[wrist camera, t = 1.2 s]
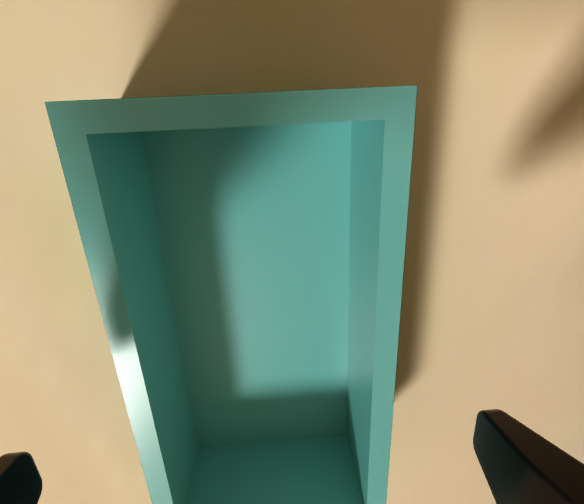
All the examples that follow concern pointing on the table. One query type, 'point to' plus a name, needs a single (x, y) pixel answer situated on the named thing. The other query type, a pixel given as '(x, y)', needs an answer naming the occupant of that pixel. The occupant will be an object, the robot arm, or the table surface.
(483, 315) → the table surface
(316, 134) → the tray
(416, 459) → the table surface
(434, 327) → the table surface
